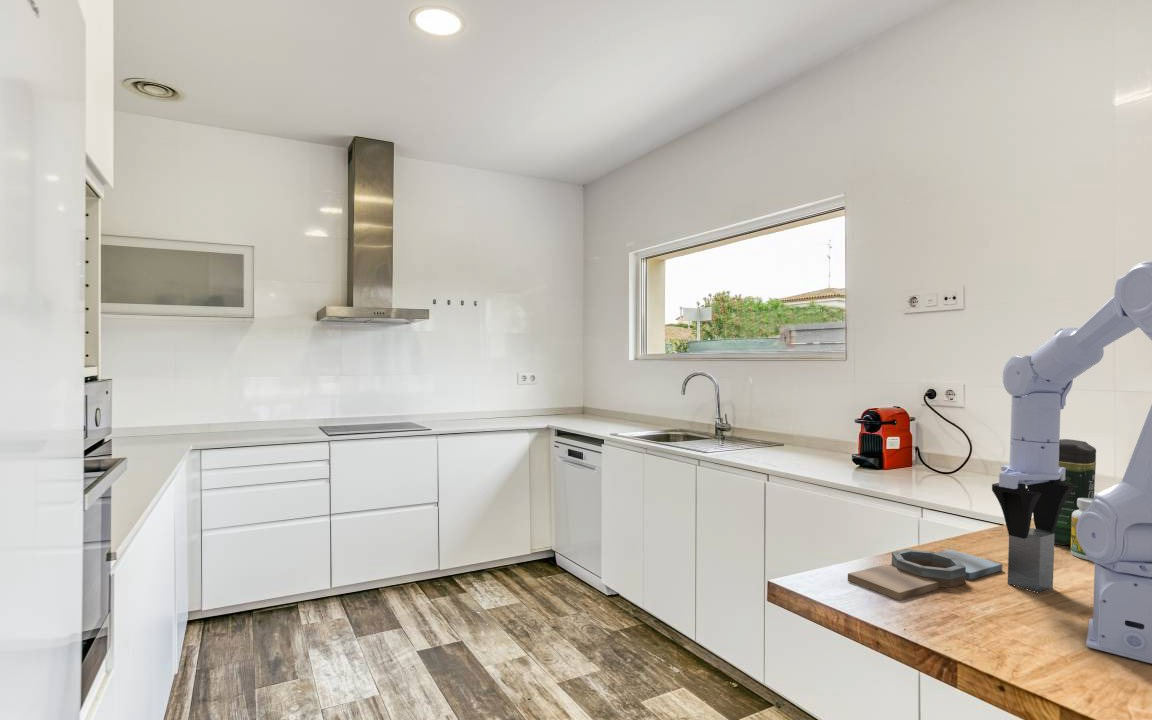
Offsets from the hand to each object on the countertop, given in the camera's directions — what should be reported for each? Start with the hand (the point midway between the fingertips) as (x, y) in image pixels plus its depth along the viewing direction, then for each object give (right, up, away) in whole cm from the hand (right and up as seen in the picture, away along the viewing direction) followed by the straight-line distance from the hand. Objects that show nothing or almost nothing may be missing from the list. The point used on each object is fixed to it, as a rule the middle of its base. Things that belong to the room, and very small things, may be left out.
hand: (1031, 533), depth 89 cm
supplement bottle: (+20, -8, +14) cm, 26 cm away
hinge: (-13, -7, +4) cm, 15 cm away
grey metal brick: (0, -8, 0) cm, 8 cm away
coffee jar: (+23, -8, +23) cm, 34 cm away
